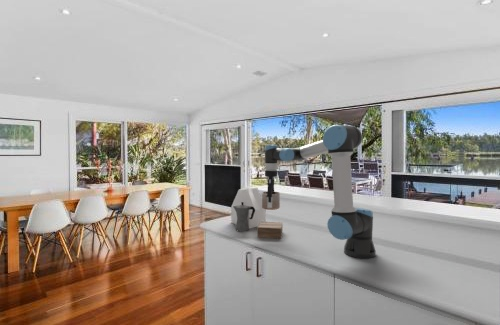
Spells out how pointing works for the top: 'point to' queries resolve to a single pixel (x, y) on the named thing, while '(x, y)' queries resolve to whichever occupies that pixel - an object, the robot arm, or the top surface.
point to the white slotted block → (249, 199)
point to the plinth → (270, 230)
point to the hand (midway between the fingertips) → (270, 205)
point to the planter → (274, 201)
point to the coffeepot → (243, 216)
